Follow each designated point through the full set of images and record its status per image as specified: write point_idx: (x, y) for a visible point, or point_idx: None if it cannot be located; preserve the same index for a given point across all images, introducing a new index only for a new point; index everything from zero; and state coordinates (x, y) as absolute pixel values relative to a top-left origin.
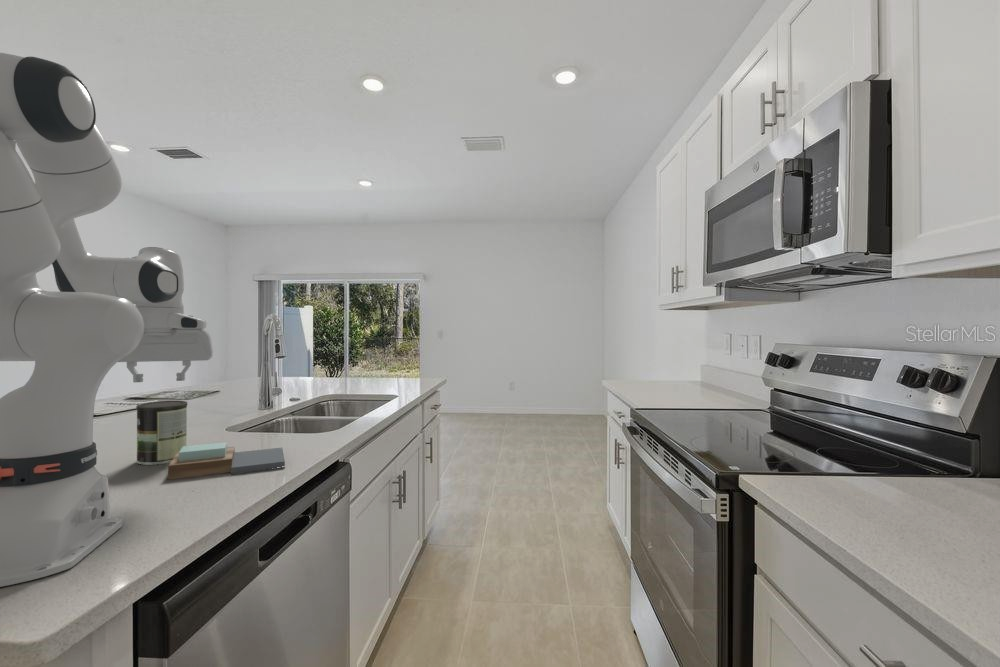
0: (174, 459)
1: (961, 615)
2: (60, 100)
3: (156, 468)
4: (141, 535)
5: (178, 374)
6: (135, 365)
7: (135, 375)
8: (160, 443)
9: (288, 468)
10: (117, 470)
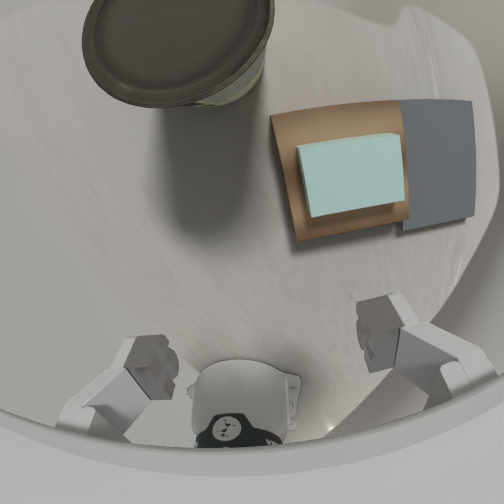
0: (291, 189)
1: None
2: None
3: (233, 137)
4: (324, 390)
5: (378, 363)
6: (117, 436)
7: (146, 394)
8: (220, 102)
9: (470, 217)
10: (154, 138)
